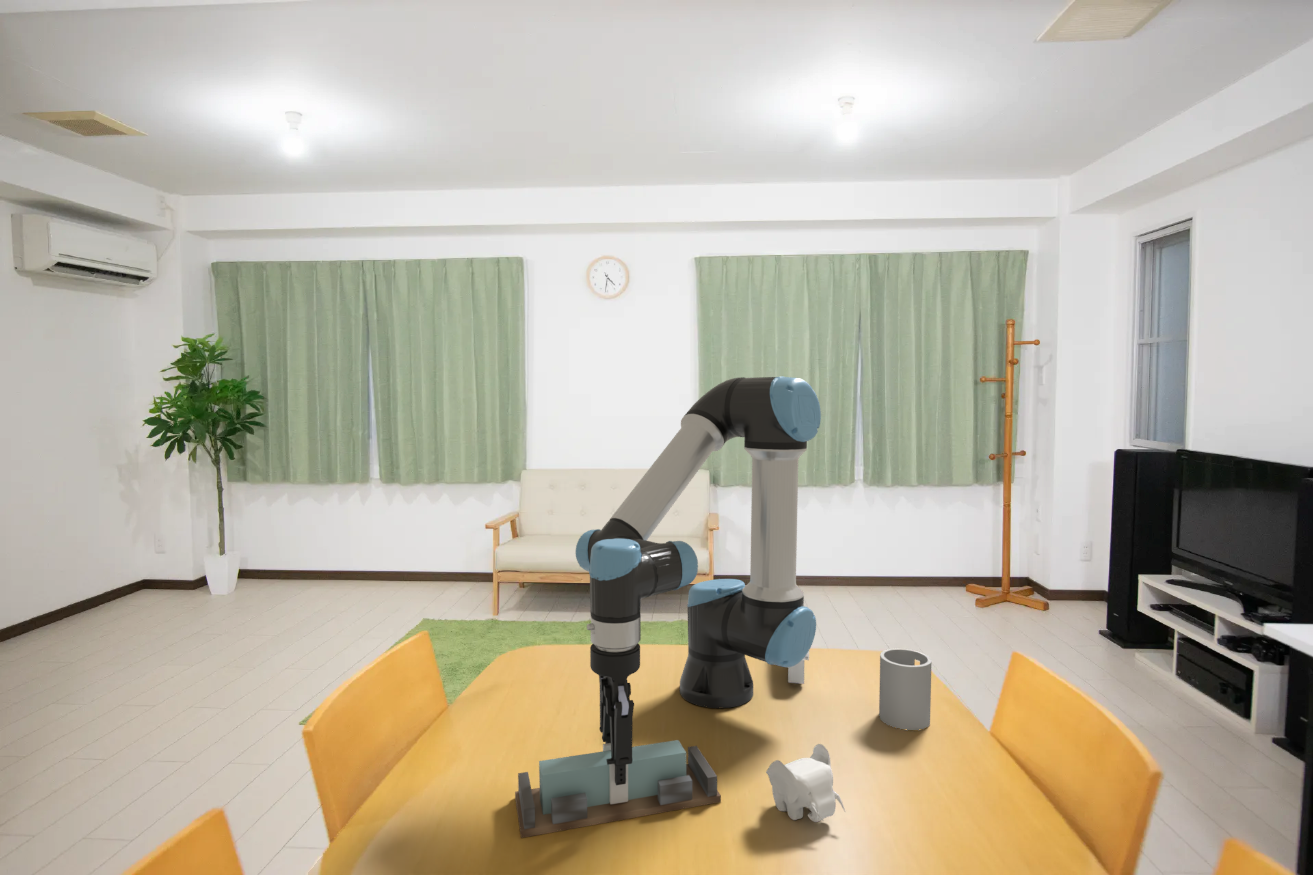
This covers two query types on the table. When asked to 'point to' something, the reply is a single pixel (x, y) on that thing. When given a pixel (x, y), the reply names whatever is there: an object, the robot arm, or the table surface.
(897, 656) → the cup
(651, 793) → the rail
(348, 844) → the table surface
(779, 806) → the elephant figurine
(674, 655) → the table surface
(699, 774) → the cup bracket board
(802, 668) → the shelf bracket
